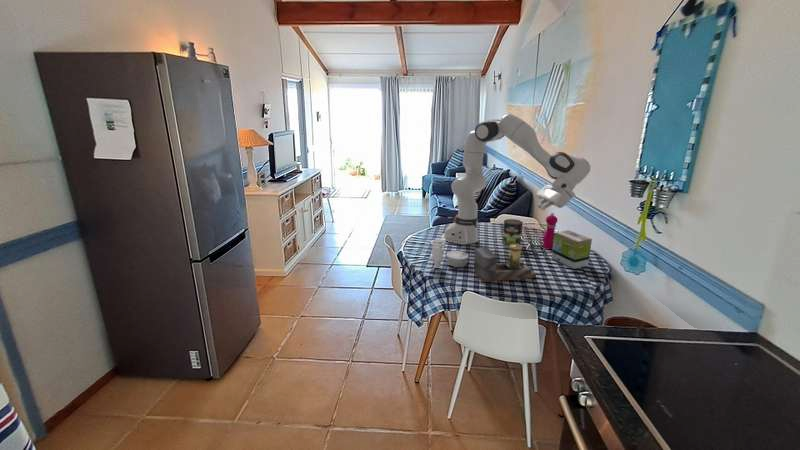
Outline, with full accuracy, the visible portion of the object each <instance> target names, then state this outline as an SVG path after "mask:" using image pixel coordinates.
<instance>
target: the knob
mask: <svg viewBox="0 0 800 450" xmlns="http://www.w3.org/2000/svg"><path fill="white" fill-rule="evenodd" d="M508 249H509V254H508V255H509V256H508V263H509V264H505V268H506V269H507V270H520V269H523V268H522V267H521V266H520V262H521V254H522V250H523V245H522V244H521V243H520V244H509V248H508Z"/></svg>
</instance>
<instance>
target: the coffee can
mask: <svg viewBox="0 0 800 450" xmlns="http://www.w3.org/2000/svg"><path fill="white" fill-rule="evenodd" d="M523 223H524V222H523V221H522V220H520V219H516V218H509V219H505V220H503V229H502V230H503V231H502V241H501V245H502V247H505V248H508V249H509V244H520V245H521V241H522V233H523V232H522V231H523V225H524V224H523Z"/></svg>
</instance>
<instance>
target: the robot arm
mask: <svg viewBox="0 0 800 450" xmlns="http://www.w3.org/2000/svg"><path fill="white" fill-rule="evenodd" d="M504 137H506V138H507V139H509V141H511V142H512V143H514V144H515V145H517V147H520V148H521V149H522V150H523V151H525V152H526V153H528V154H529V155H530V156H531V157H532V158H533V159H534V160H535V161H537V162H538V163H539V164H540V165H541V166H542V167H544V169H545V170H546V172H547V175H548V176H549V177H550V178H551V179H553V180H554V181H552V183H550V184H545V185H544V186H543V187H541V189H539V190H538V191H537V192H536V194H535V196H536V197H537V198H538V200H540V201H539V202H538V204H537V205H536V206H537V208H538V209H539V210H540V209H541V210H542V211H545V210H546V209H548V208H550V207H551V206H555V207H557V208H558V209H561V208H563V207H565V206H566V205H567V204H568V203H569V202H570V201H571V200H572V199H573V198H575V196H576V193H575V192H574V191H573V190H575V188H576V186H578V184H580V183H581V182H582V181H584V180H585V178H586V177H587V176H588V175H589V173H590V171H591V165H590V163H589V161H588V160H586V159H585V158H584V157H578V156H577V157H576V156H572V155H569V154H567V152H563V151H558V152H555V153H553V154H552V155H551V154H550V153H549V152H548V151H546V150H545V149H544V148H543V147H542V145H541V143H540V142H539V139H538V136H537V132H536V130H535V129H534V128H533V127H532V126H531V125H530V124H528V123H527V122H526V121H524V120H523V119H521V118H520V117H519V116H516V115H514V114H512V113H507V114H505V115H503V116H502V117H501V118H500V119H489V120H483V121H481V122H479V123H478V124H477V125H476V127H475V128H474V130H471V131H469V132H468V134H467V137H466V140H465V143H464V148H463V156H462V163H461V164H462V166H463V167H464V169H465V175H462V176H459V177H457V178H456V179H455V180H453V181H452V182H451V185H450V187H451V191H452V193H453V195H455V196H456V197H455V198H456V199H457V205H458V211H457V212H458V213H457V214H456V215H455V216H454V221H453V222H452V223H451V224H450V225H448V226H447V227H446V228H445V230H444V233H443V234H441V236H440V239H445V242H447V241H448V242H447V243H452V242H453V244H457V243H458V244H457V245H462V246H464V245H468V244H475V243H477V242H479V235H478V225H479V219H478V210H479V209H478V207H479V205H478V203H477V202H476V200H475V198H474V194H476V193H479V192H480V191H482V190H484V188H486V185H487V180H486V179H487V178H486V177H485V176H484V173H483V172H484V171H483V162H484V157H485V156H484V155H485V149H486V145H487V143H488V142H489V143H490V142H495V141H498V140H501V139H503V138H504Z"/></svg>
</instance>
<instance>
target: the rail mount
mask: <svg viewBox="0 0 800 450" xmlns="http://www.w3.org/2000/svg"><path fill="white" fill-rule="evenodd" d="M505 264H509V262H506V263H505V262H504V263H498V257H497V255H495V253H494V252H492V250H491V249H489V248H488V247H479V248H474V264H473V266H474V267H473V268H474V273H475V275H476V276H477V278H479V280H480V281H481V282H482V283H485V282H495V281H496V282H497V281H498V282H499V281H506V280H507V281H510V280H521V279H523V280H524V279H534V278H535V279H536V277H537V274H536V272H534V271H533V269H532V268H530V267H528V265H526V264H525V263H524V261H520V266H521V267H522V268H523V269H520V270H507V269H506V268H505Z"/></svg>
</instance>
